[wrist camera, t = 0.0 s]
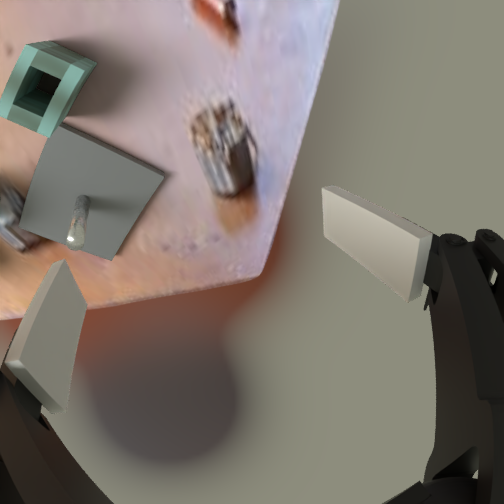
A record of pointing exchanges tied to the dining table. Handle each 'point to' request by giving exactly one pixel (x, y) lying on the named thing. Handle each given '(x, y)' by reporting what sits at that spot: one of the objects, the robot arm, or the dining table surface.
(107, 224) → the board
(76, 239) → the rod
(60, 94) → the bead
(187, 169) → the dining table surface
